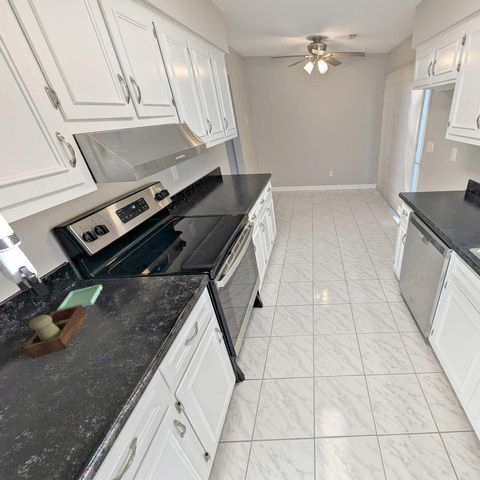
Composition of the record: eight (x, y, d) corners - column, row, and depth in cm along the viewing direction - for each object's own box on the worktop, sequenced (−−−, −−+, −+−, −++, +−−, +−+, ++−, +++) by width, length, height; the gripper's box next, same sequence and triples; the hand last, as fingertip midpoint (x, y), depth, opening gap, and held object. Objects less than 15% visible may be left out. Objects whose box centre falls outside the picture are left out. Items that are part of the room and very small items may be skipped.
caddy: (33, 358, 82) (23, 348, 80) (58, 321, 97) (51, 311, 94) (67, 348, 85) (59, 338, 83) (87, 313, 99) (81, 304, 97)
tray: (59, 313, 101) (56, 309, 100) (72, 294, 111) (70, 291, 110) (92, 304, 104) (90, 301, 103) (102, 287, 114) (100, 284, 113)
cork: (66, 343, 86) (47, 319, 81) (42, 352, 84) (21, 328, 78) (69, 332, 91) (51, 309, 86) (47, 340, 88) (27, 317, 83)
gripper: (-33, 244, 70) (7, 292, 78) (-10, 256, 63) (32, 307, 71) (5, 232, 76) (39, 278, 84) (30, 242, 69) (64, 291, 77)
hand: (35, 291), depth 78 cm, fingers open, 9 cm apart
